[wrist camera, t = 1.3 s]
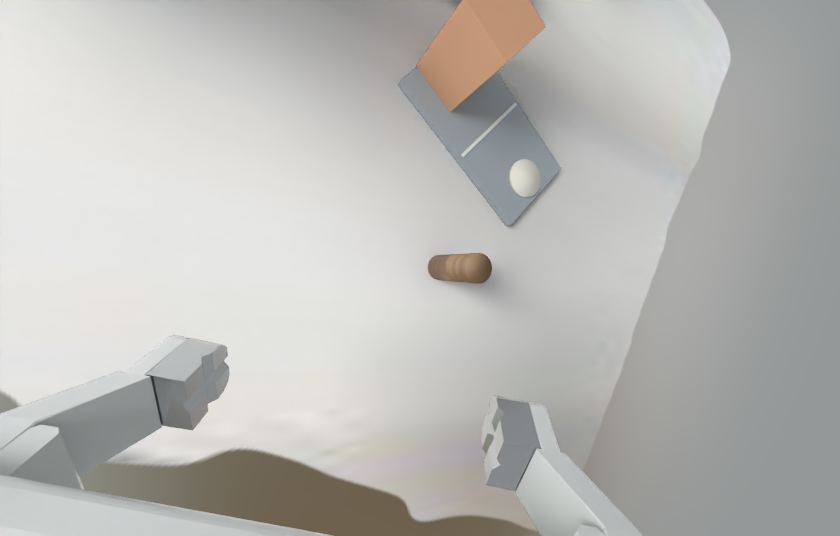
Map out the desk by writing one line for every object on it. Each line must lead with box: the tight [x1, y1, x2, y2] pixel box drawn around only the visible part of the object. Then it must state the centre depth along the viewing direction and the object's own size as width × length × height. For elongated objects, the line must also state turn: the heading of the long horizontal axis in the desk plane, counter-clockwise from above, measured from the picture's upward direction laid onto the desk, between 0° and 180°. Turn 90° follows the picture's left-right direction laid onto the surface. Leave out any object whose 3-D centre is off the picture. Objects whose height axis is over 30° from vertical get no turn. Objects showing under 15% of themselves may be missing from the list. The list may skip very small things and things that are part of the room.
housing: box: [416, 0, 546, 112], centre depth 36 cm, size 6×6×11 cm
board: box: [398, 68, 561, 226], centre depth 41 cm, size 22×12×7 cm, turn 44°
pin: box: [428, 253, 492, 283], centre depth 38 cm, size 3×3×9 cm
